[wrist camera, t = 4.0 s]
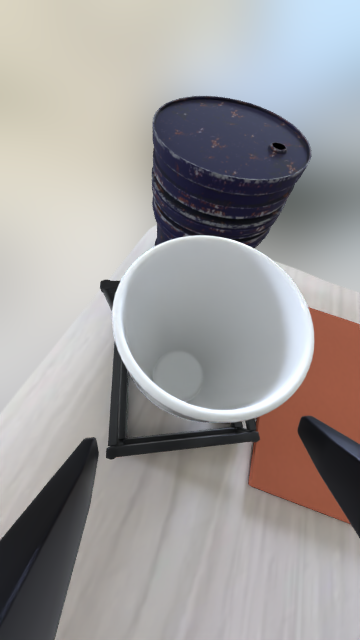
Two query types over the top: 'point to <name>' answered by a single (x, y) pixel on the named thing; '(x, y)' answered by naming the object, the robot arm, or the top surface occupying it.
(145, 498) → the top surface
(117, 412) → the drying rack
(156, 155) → the dark blue oil drum
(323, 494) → the mat
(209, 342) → the white tall cup
